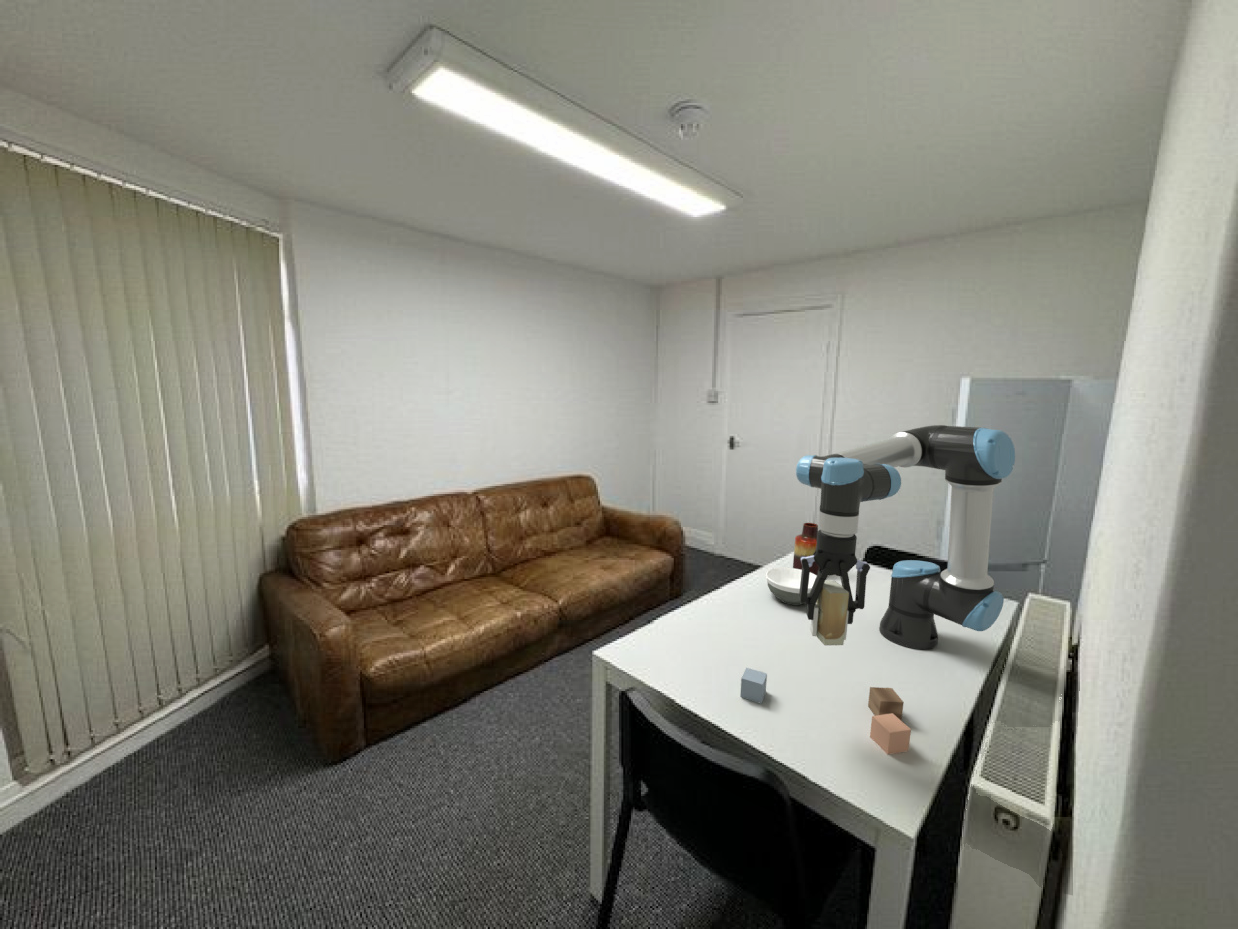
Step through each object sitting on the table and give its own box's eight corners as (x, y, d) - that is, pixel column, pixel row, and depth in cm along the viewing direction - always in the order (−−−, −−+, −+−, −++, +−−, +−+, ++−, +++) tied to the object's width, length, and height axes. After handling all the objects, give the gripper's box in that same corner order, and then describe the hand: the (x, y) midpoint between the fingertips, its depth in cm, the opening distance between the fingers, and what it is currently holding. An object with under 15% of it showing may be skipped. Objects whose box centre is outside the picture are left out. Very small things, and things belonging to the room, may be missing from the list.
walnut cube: (889, 707, 111) (892, 688, 110) (901, 722, 106) (903, 702, 105) (867, 706, 111) (870, 687, 111) (878, 721, 106) (880, 701, 106)
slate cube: (765, 692, 116) (767, 673, 115) (761, 704, 112) (762, 684, 111) (745, 686, 118) (746, 667, 118) (740, 697, 114) (741, 678, 113)
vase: (795, 577, 187) (799, 527, 184) (790, 567, 198) (793, 520, 194) (824, 579, 185) (828, 529, 182) (817, 569, 196) (821, 521, 193)
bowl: (824, 596, 170) (826, 574, 169) (814, 617, 155) (817, 593, 153) (772, 584, 180) (773, 563, 179) (757, 602, 165) (759, 580, 163)
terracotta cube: (890, 734, 103) (892, 713, 102) (908, 751, 98) (911, 729, 97) (869, 737, 102) (872, 716, 101) (887, 754, 97) (890, 732, 96)
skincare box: (811, 631, 106) (815, 579, 104) (830, 631, 106) (834, 579, 104) (824, 646, 100) (829, 592, 98) (844, 646, 100) (850, 591, 98)
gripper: (879, 530, 101) (868, 631, 105) (788, 523, 105) (781, 621, 109) (890, 541, 94) (879, 649, 98) (793, 533, 98) (785, 638, 101)
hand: (827, 634), depth 103 cm, fingers closed on skincare box, 5 cm apart
